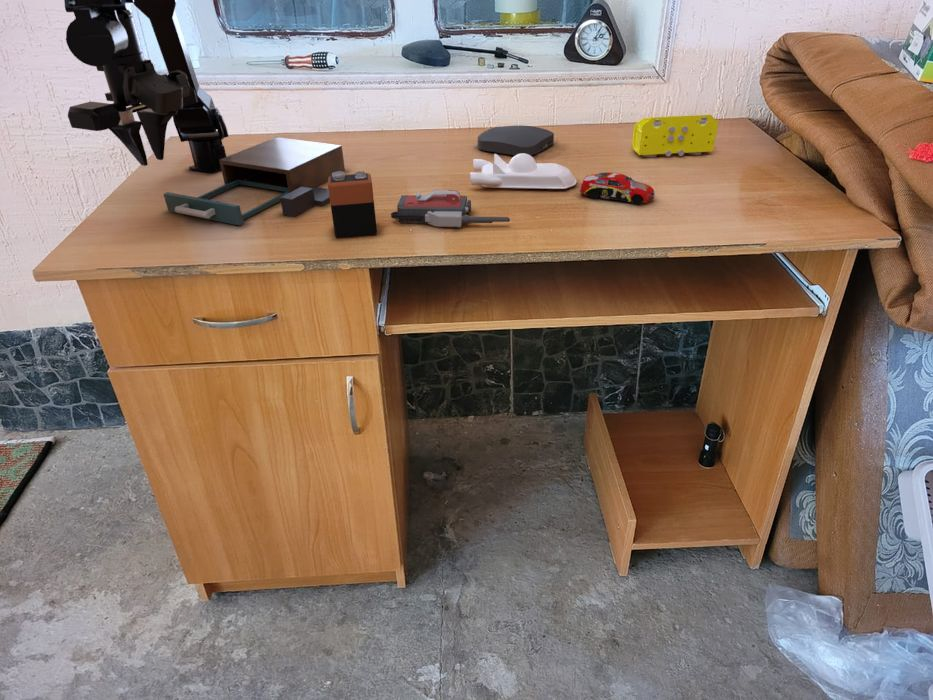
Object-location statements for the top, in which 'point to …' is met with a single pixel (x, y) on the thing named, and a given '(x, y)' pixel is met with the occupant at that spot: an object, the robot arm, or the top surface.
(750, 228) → the top surface
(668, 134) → the yellow toy chassis
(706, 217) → the top surface
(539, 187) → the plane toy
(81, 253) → the top surface
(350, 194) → the battery
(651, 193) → the race car
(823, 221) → the top surface
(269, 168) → the drawer unit
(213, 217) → the drawer
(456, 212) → the walkie-talkie
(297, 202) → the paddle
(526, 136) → the media streaming box
